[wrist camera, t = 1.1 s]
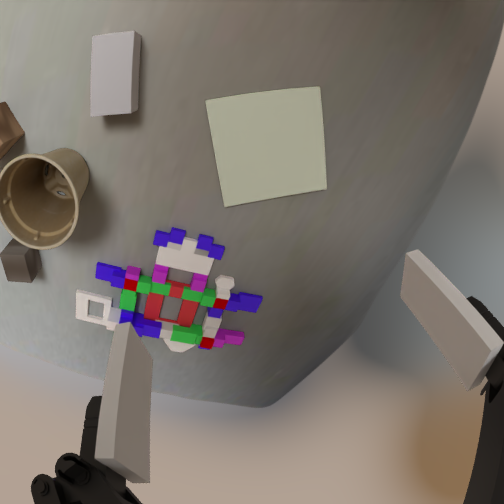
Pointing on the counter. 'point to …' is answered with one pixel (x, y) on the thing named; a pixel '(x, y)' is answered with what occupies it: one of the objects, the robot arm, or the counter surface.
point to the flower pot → (42, 197)
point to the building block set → (172, 295)
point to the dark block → (20, 262)
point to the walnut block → (8, 129)
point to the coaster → (268, 144)
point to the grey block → (115, 73)
